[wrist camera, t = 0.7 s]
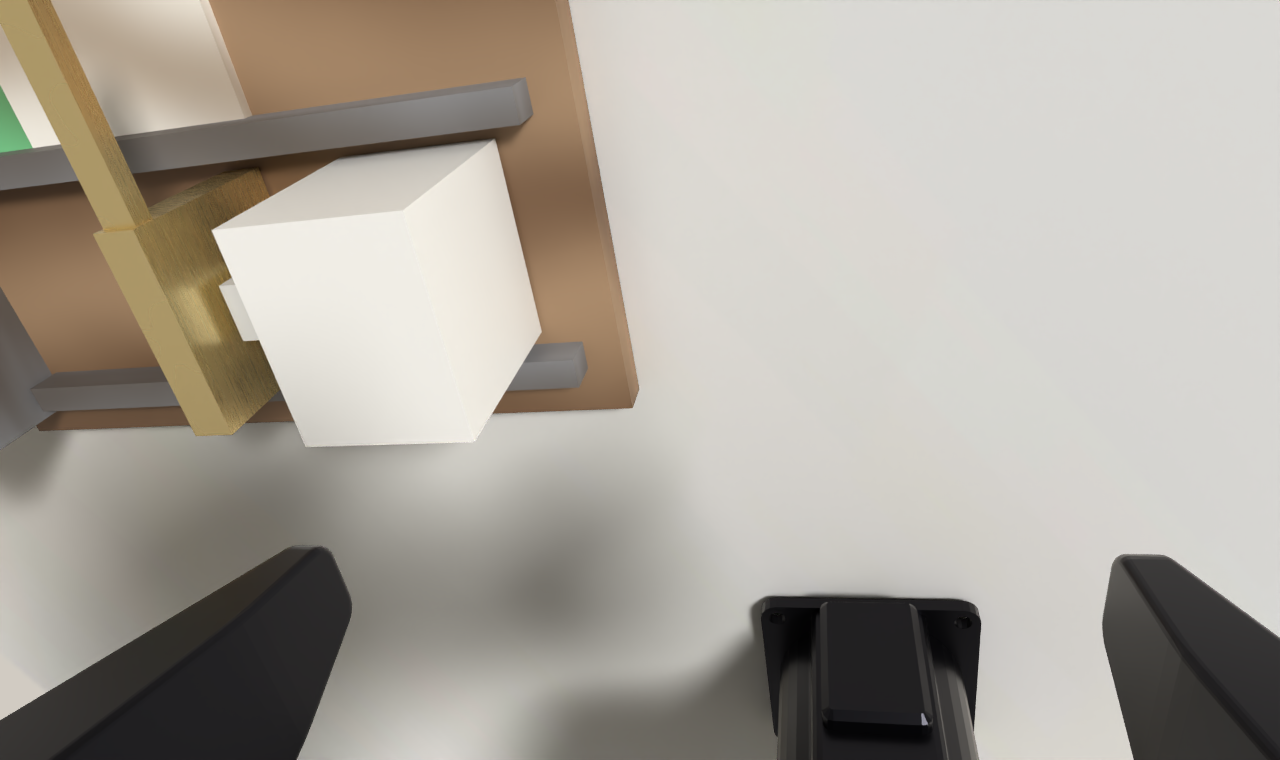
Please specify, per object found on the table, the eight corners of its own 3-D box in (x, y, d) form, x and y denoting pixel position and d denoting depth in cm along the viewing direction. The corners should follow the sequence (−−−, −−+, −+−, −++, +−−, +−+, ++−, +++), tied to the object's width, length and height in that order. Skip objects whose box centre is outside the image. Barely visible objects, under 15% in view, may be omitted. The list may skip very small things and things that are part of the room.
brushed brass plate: (327, 345, 22) (232, 434, 19) (296, 347, 23) (195, 435, 19) (179, -35, 18) (14, -15, 14) (142, -27, 18) (-31, -6, 14)
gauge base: (639, 388, 23) (579, 563, 17) (63, 414, 27) (-143, 558, 21) (527, -221, 16) (362, -288, 10) (-214, -50, 21) (-628, -26, 15)
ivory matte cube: (541, 331, 21) (474, 442, 17) (337, 344, 22) (227, 449, 18) (494, 138, 19) (402, 210, 14) (268, 165, 20) (124, 239, 16)
